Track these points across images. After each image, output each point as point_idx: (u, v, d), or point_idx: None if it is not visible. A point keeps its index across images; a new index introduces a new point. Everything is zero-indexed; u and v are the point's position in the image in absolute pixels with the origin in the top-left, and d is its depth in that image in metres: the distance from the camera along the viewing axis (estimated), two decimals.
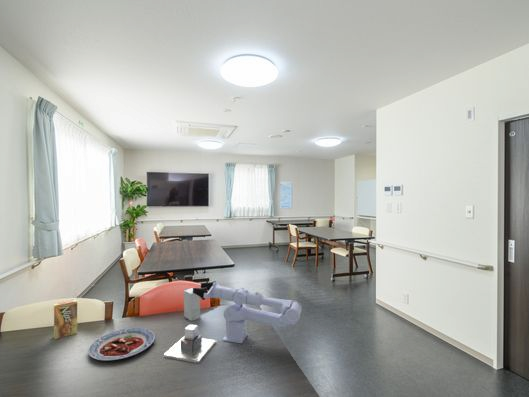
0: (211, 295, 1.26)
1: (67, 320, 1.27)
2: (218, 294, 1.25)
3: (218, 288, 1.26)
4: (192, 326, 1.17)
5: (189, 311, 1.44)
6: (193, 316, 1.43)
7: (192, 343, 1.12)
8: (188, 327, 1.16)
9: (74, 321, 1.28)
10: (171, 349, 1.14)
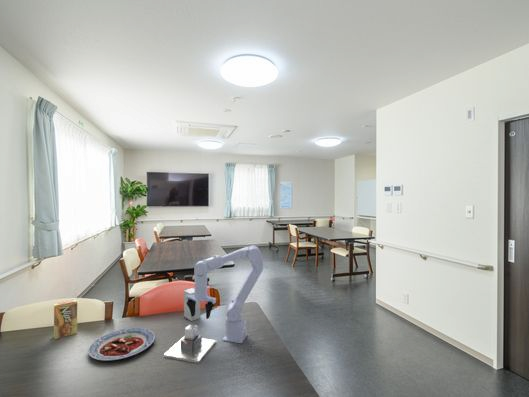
0: (207, 296, 1.25)
1: (67, 320, 1.27)
2: (206, 290, 1.24)
3: (201, 293, 1.22)
4: (192, 326, 1.17)
5: (188, 311, 1.44)
6: (193, 316, 1.43)
7: (192, 343, 1.12)
8: (188, 327, 1.16)
9: (74, 321, 1.28)
10: (171, 349, 1.14)
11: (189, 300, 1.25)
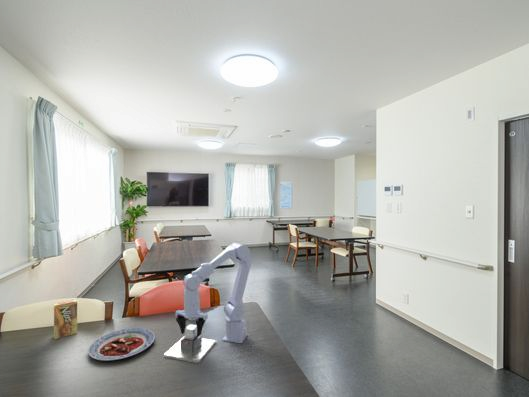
0: (198, 312, 1.16)
1: (67, 320, 1.27)
2: (197, 305, 1.15)
3: (192, 309, 1.13)
4: (192, 326, 1.17)
5: None
6: None
7: (192, 343, 1.12)
8: (188, 327, 1.16)
9: (74, 321, 1.28)
10: (171, 349, 1.14)
11: (179, 316, 1.17)
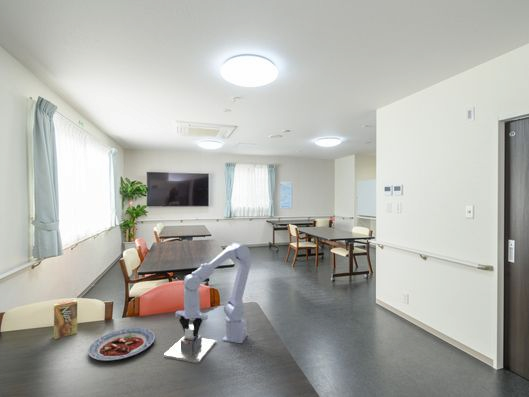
0: (198, 313, 1.16)
1: (67, 320, 1.27)
2: (197, 306, 1.15)
3: (192, 309, 1.13)
4: (192, 326, 1.17)
5: None
6: None
7: (192, 343, 1.12)
8: (188, 327, 1.16)
9: (74, 321, 1.28)
10: (171, 349, 1.14)
11: None
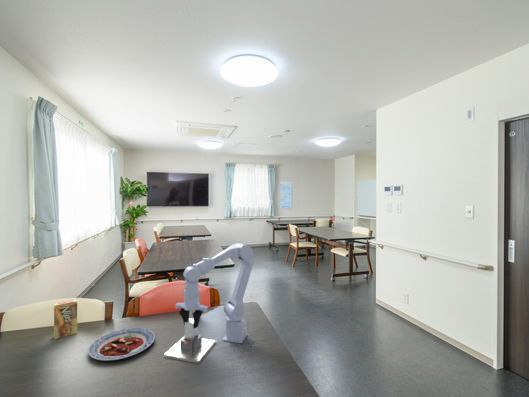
0: (198, 305, 1.16)
1: (67, 320, 1.27)
2: (197, 297, 1.15)
3: (192, 301, 1.13)
4: (192, 320, 1.17)
5: None
6: None
7: (192, 343, 1.12)
8: (188, 320, 1.16)
9: (74, 321, 1.28)
10: (171, 349, 1.14)
11: None
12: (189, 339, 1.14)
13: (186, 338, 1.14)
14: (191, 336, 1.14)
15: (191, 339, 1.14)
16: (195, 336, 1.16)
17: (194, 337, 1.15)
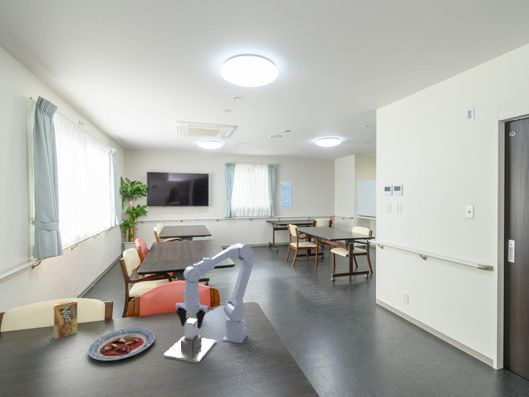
0: (198, 304, 1.17)
1: (67, 320, 1.27)
2: (197, 297, 1.16)
3: (192, 301, 1.14)
4: (192, 320, 1.17)
5: (189, 311, 1.44)
6: (193, 316, 1.43)
7: (192, 343, 1.12)
8: (188, 320, 1.16)
9: (74, 321, 1.28)
10: (171, 349, 1.14)
11: (179, 308, 1.17)
12: (189, 339, 1.14)
13: (186, 338, 1.14)
14: (191, 336, 1.14)
15: (191, 339, 1.14)
16: (195, 336, 1.16)
17: (194, 337, 1.15)
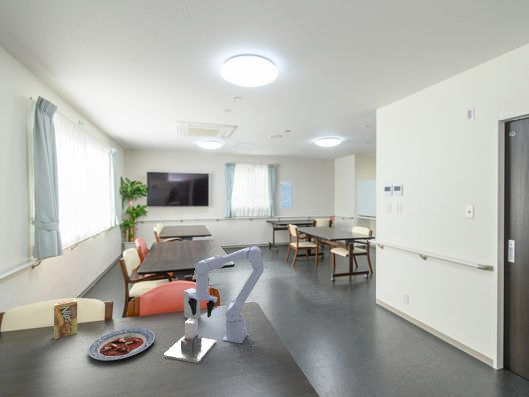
0: (208, 295, 1.26)
1: (67, 320, 1.27)
2: (207, 289, 1.25)
3: (203, 292, 1.23)
4: (192, 320, 1.17)
5: (189, 311, 1.44)
6: (193, 316, 1.43)
7: (192, 343, 1.12)
8: (188, 320, 1.16)
9: (74, 321, 1.28)
10: (171, 349, 1.14)
11: (190, 299, 1.26)
12: (189, 339, 1.14)
13: (186, 338, 1.14)
14: (191, 336, 1.14)
15: (191, 339, 1.14)
16: (195, 336, 1.16)
17: (194, 337, 1.15)
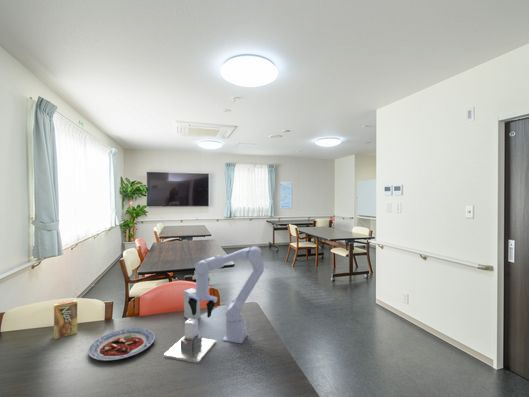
0: (208, 295, 1.26)
1: (67, 320, 1.27)
2: (207, 289, 1.25)
3: (203, 292, 1.23)
4: (192, 320, 1.17)
5: (188, 311, 1.44)
6: (193, 316, 1.43)
7: (192, 343, 1.12)
8: (188, 320, 1.16)
9: (74, 321, 1.28)
10: (171, 349, 1.14)
11: (190, 299, 1.26)
12: (189, 339, 1.14)
13: (186, 338, 1.14)
14: (191, 336, 1.14)
15: (191, 339, 1.14)
16: (195, 336, 1.16)
17: (194, 337, 1.15)
